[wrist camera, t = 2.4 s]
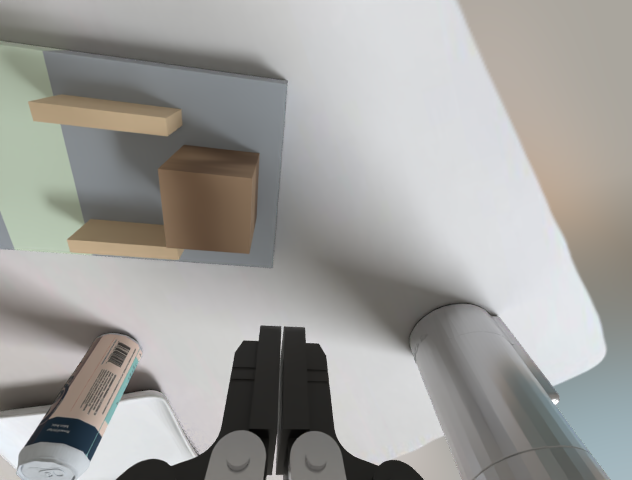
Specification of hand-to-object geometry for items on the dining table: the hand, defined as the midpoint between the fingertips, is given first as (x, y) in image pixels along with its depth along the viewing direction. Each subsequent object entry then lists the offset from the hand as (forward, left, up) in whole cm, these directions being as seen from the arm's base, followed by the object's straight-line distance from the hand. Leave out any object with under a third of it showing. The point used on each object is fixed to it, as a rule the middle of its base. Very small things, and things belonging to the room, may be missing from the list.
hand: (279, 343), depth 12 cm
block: (+4, 0, -14) cm, 15 cm away
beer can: (+15, +20, -17) cm, 31 cm away
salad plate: (+18, +37, -18) cm, 45 cm away
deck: (+13, 0, -17) cm, 22 cm away
